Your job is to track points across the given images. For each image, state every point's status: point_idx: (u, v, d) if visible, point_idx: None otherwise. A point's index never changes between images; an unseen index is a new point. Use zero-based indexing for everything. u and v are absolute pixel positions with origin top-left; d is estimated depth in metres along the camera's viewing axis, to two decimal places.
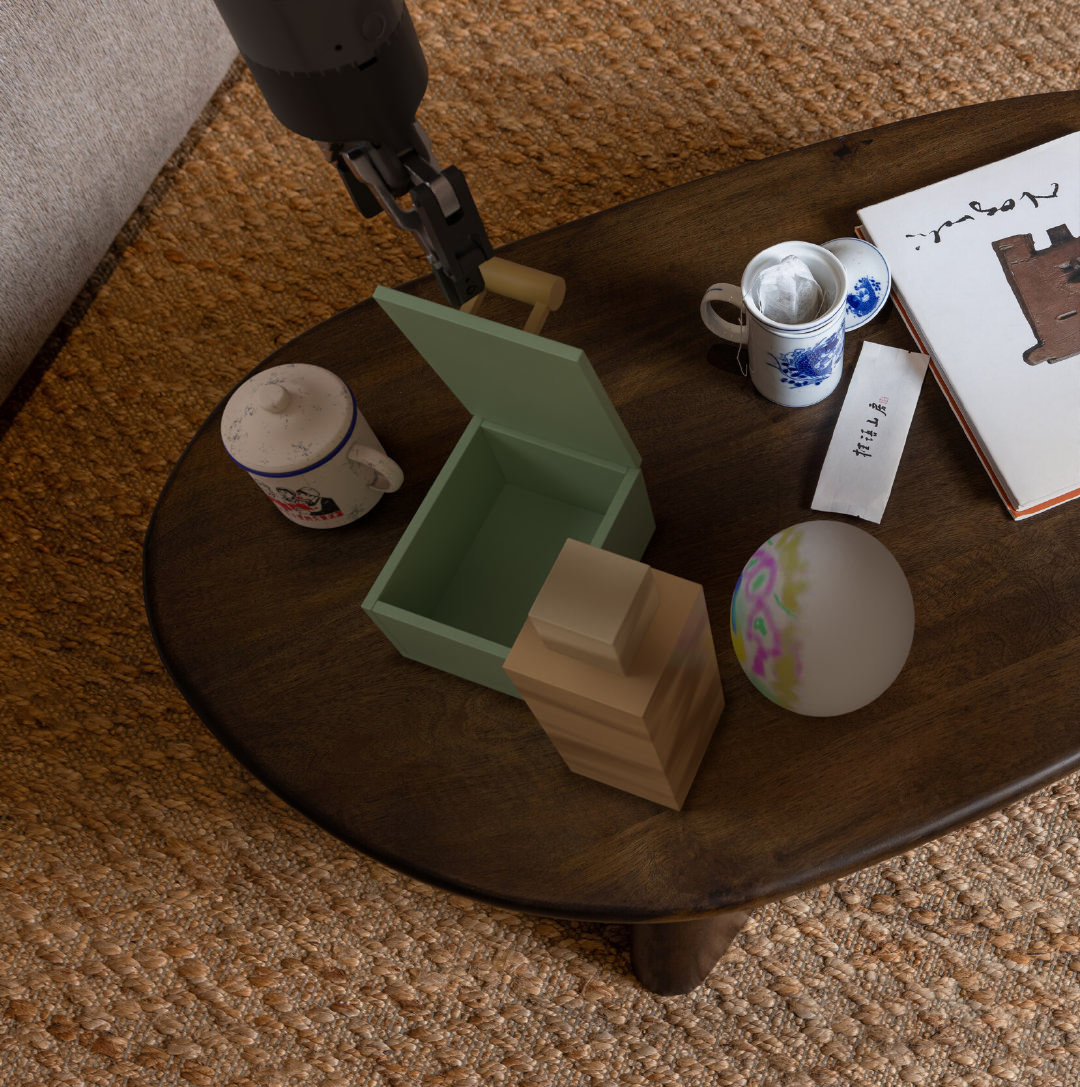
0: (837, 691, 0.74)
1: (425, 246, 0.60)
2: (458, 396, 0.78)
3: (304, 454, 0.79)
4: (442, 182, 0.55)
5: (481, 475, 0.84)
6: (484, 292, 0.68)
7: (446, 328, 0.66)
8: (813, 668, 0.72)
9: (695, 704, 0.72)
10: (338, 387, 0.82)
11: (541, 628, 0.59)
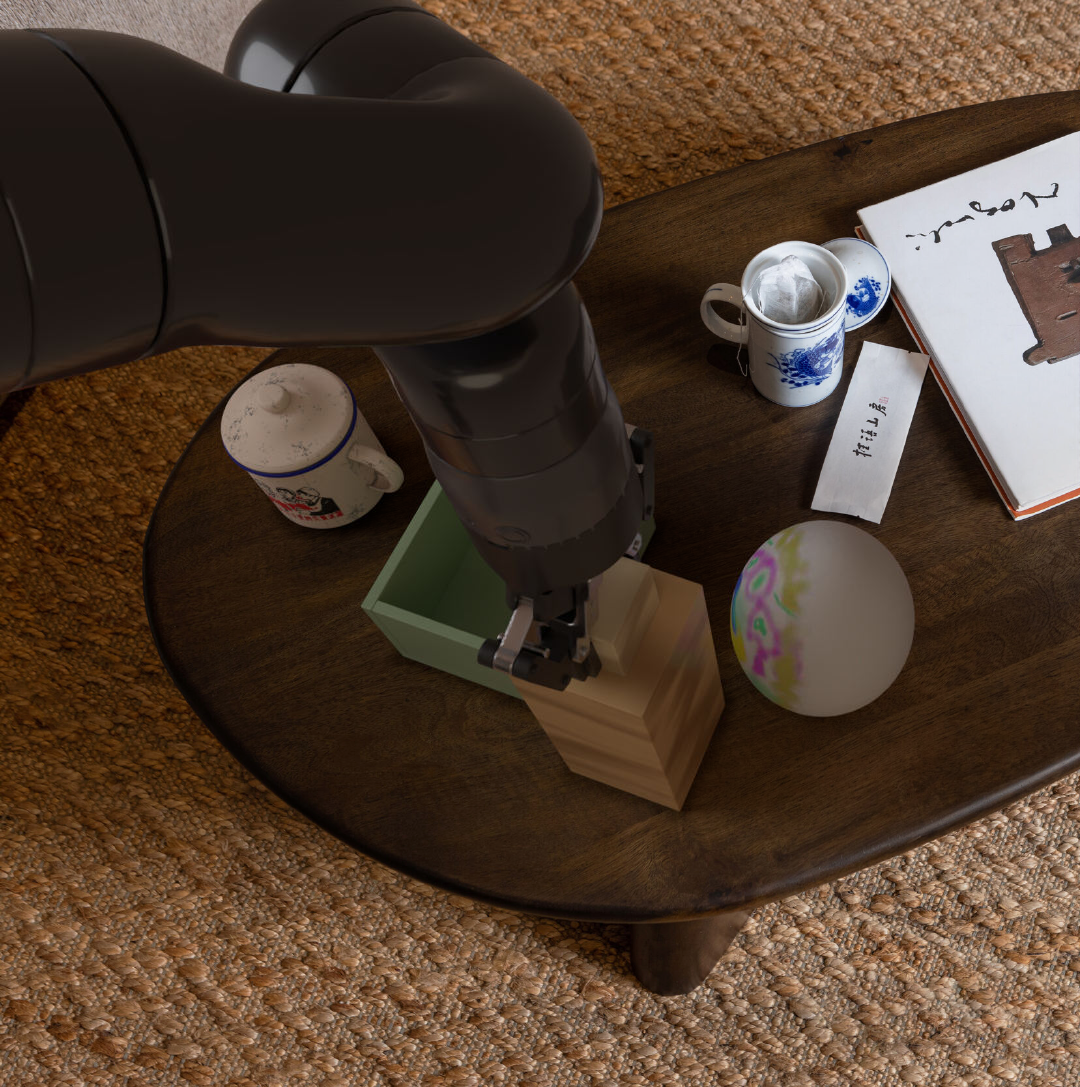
0: (837, 691, 0.74)
1: None
2: None
3: (304, 454, 0.79)
4: (505, 667, 0.51)
5: None
6: None
7: None
8: (813, 668, 0.72)
9: (695, 704, 0.72)
10: (338, 387, 0.82)
11: None
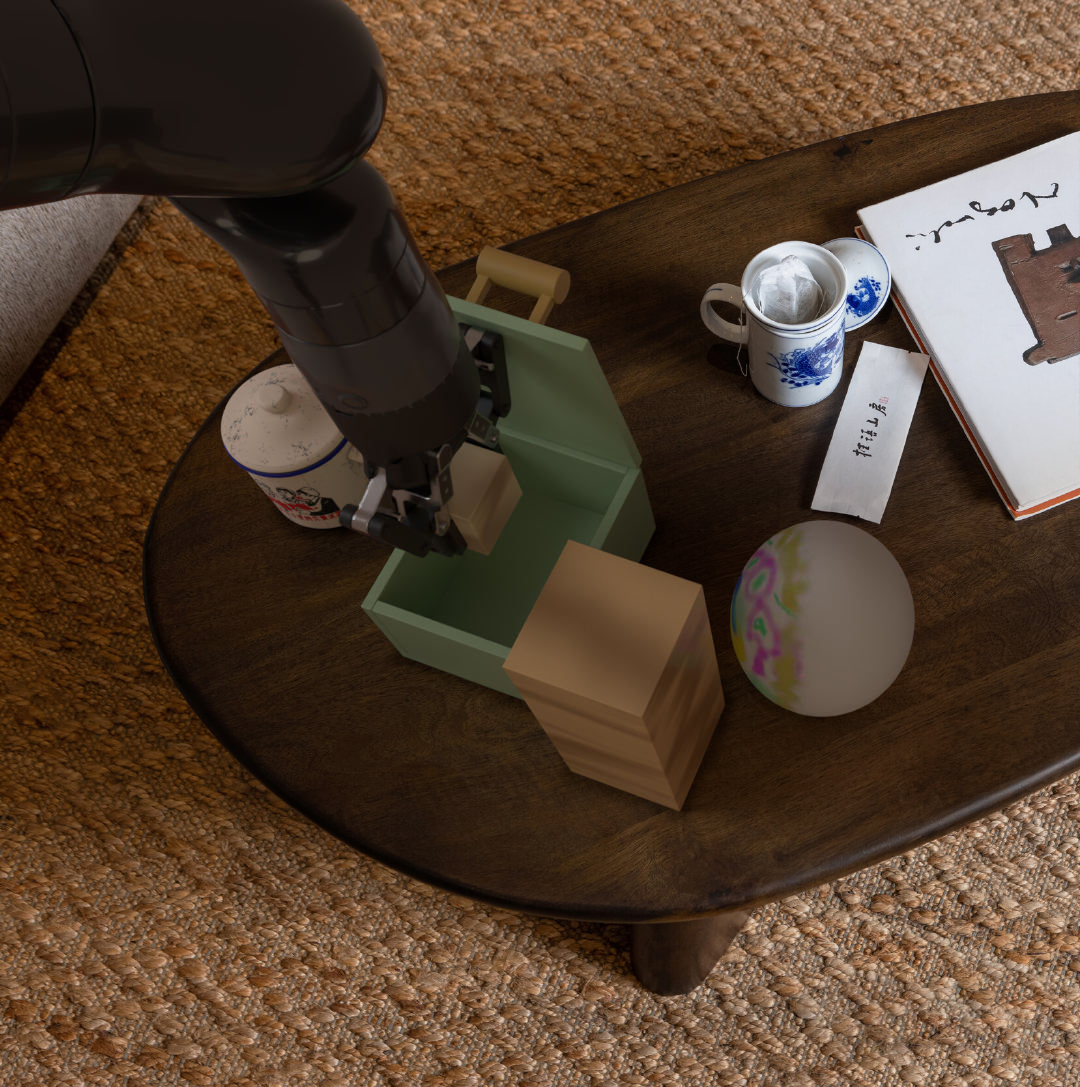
0: (837, 691, 0.74)
1: None
2: None
3: (304, 454, 0.79)
4: (362, 526, 0.60)
5: None
6: (489, 285, 0.68)
7: None
8: (813, 668, 0.72)
9: (695, 704, 0.72)
10: None
11: None
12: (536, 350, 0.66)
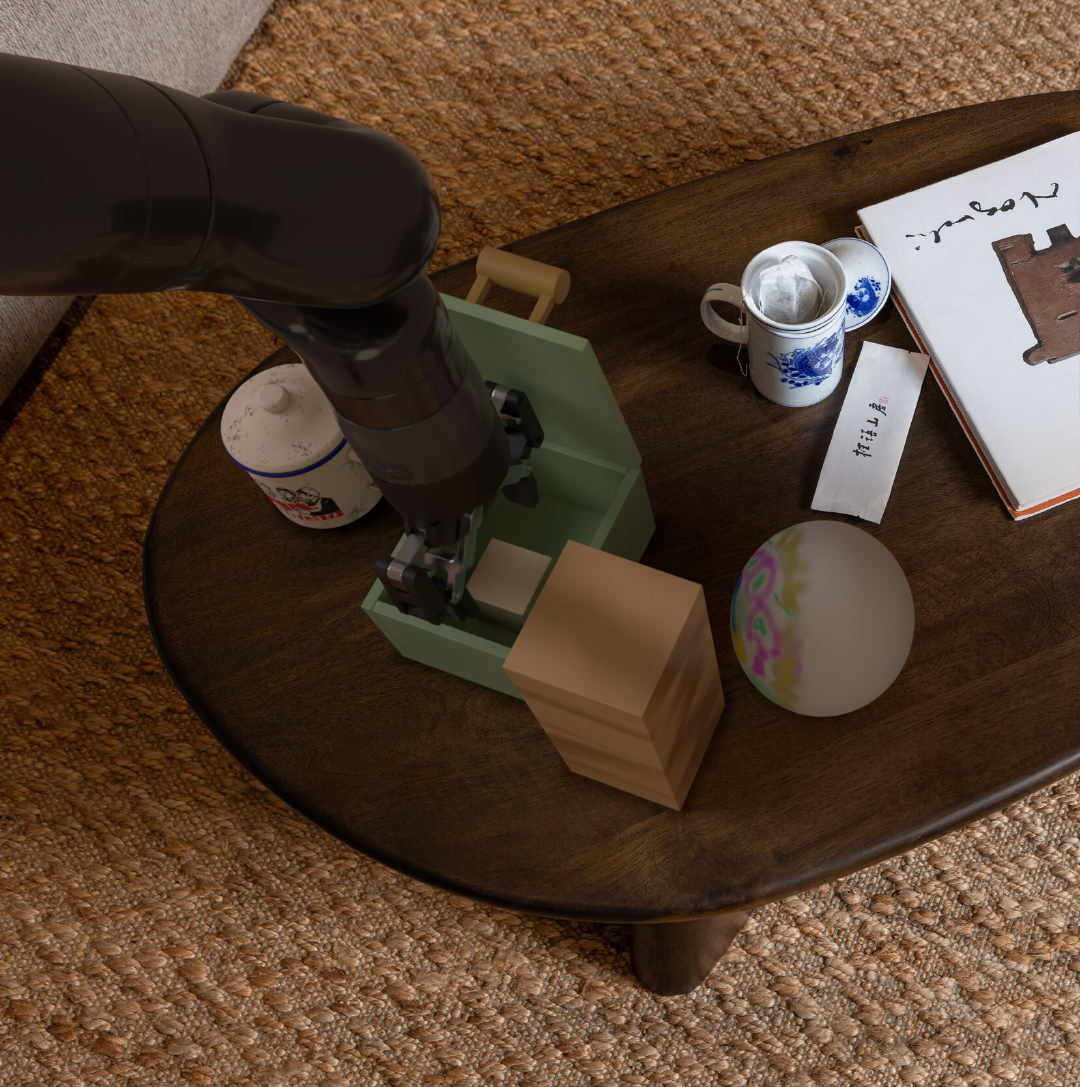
0: (837, 691, 0.74)
1: None
2: None
3: (304, 454, 0.79)
4: (397, 573, 0.65)
5: None
6: (489, 285, 0.68)
7: (451, 319, 0.66)
8: (813, 668, 0.72)
9: (695, 704, 0.72)
10: None
11: None
12: (536, 350, 0.66)
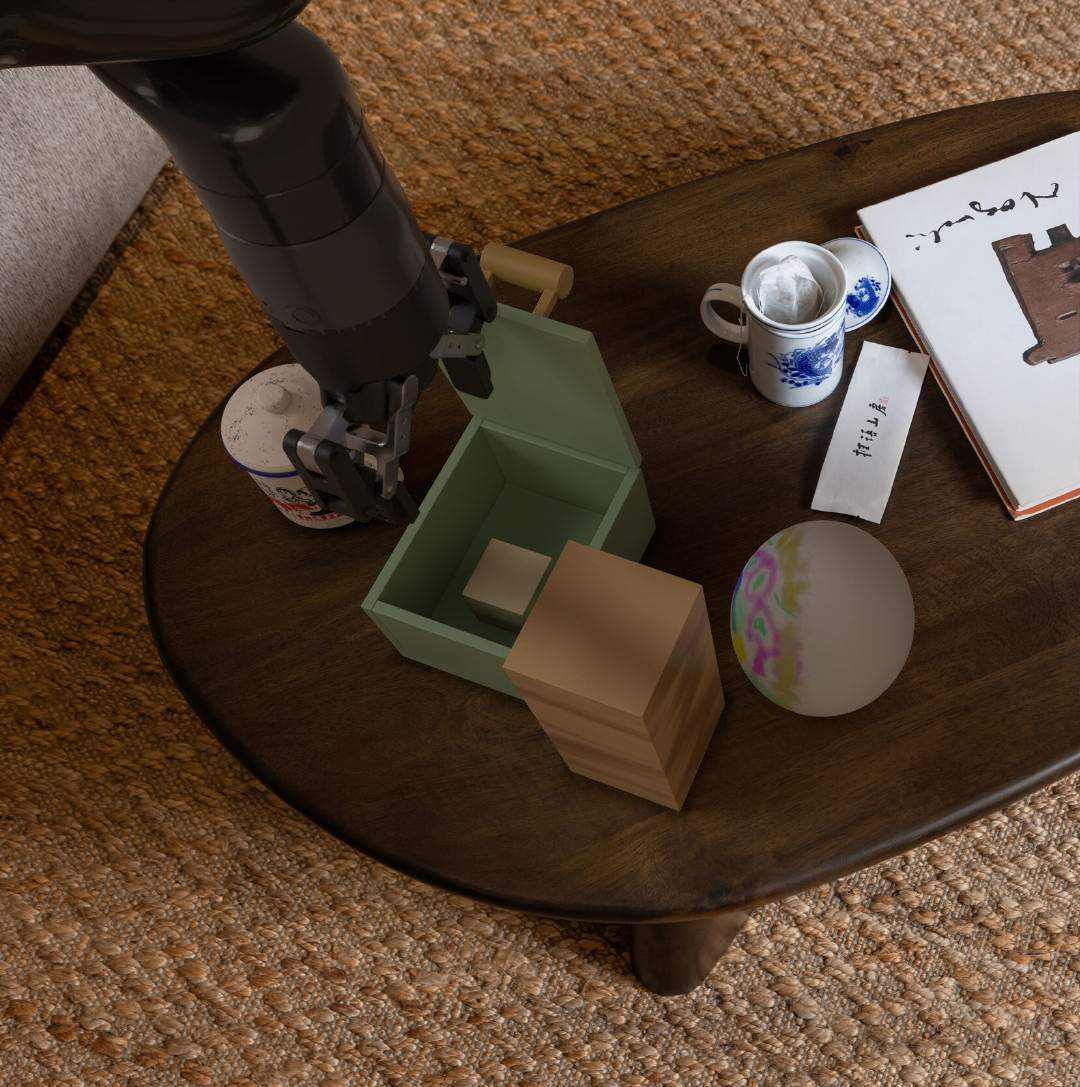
0: (837, 691, 0.74)
1: None
2: (459, 393, 0.78)
3: None
4: (309, 449, 0.53)
5: (481, 475, 0.84)
6: (492, 279, 0.68)
7: None
8: (813, 668, 0.72)
9: (695, 704, 0.72)
10: None
11: (472, 604, 0.80)
12: (539, 343, 0.66)
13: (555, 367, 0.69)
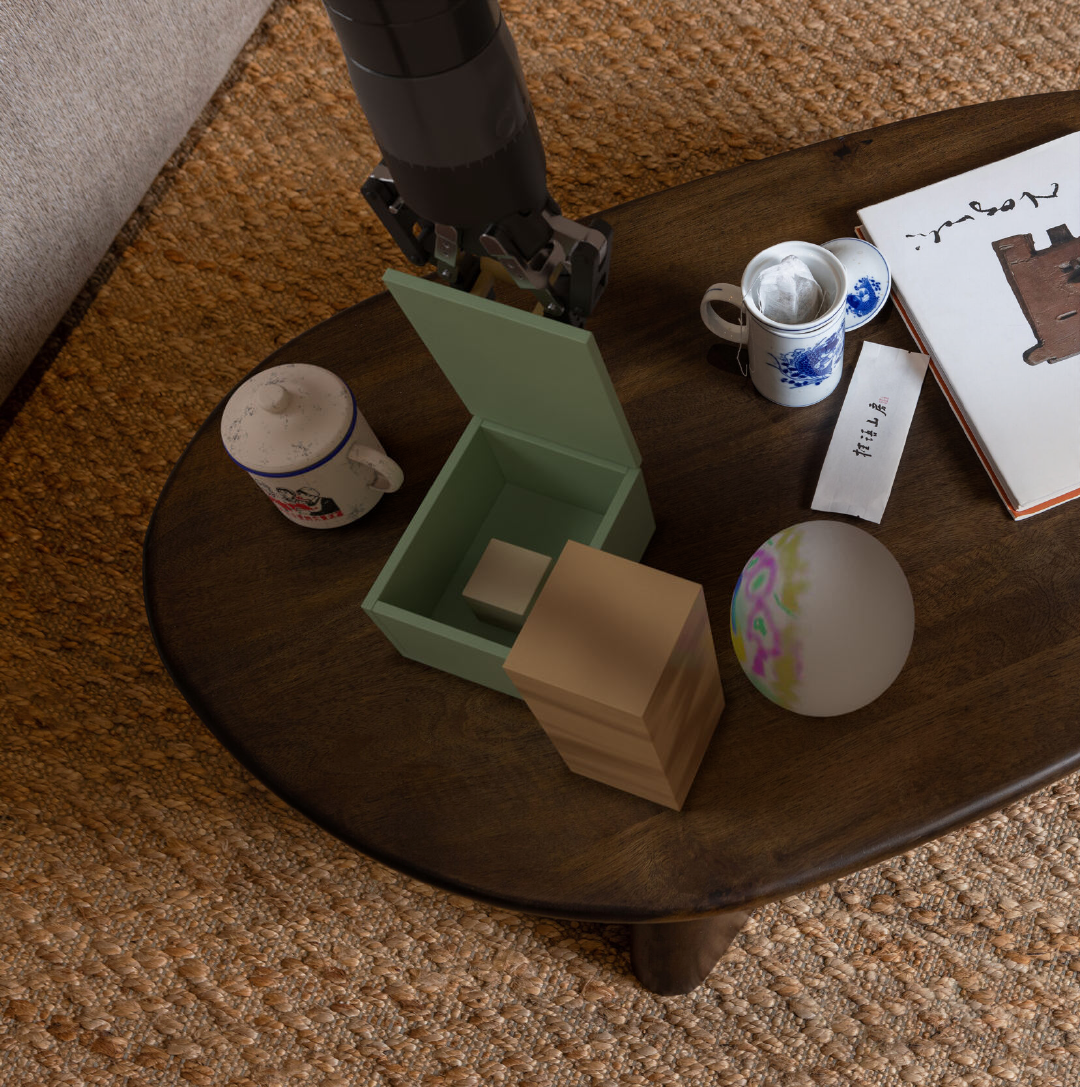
0: (837, 691, 0.74)
1: None
2: (459, 393, 0.78)
3: (304, 454, 0.79)
4: None
5: (481, 475, 0.84)
6: (492, 279, 0.68)
7: (454, 312, 0.67)
8: (813, 668, 0.72)
9: (695, 704, 0.72)
10: (338, 387, 0.82)
11: (472, 604, 0.80)
12: (539, 343, 0.66)
13: (555, 367, 0.69)
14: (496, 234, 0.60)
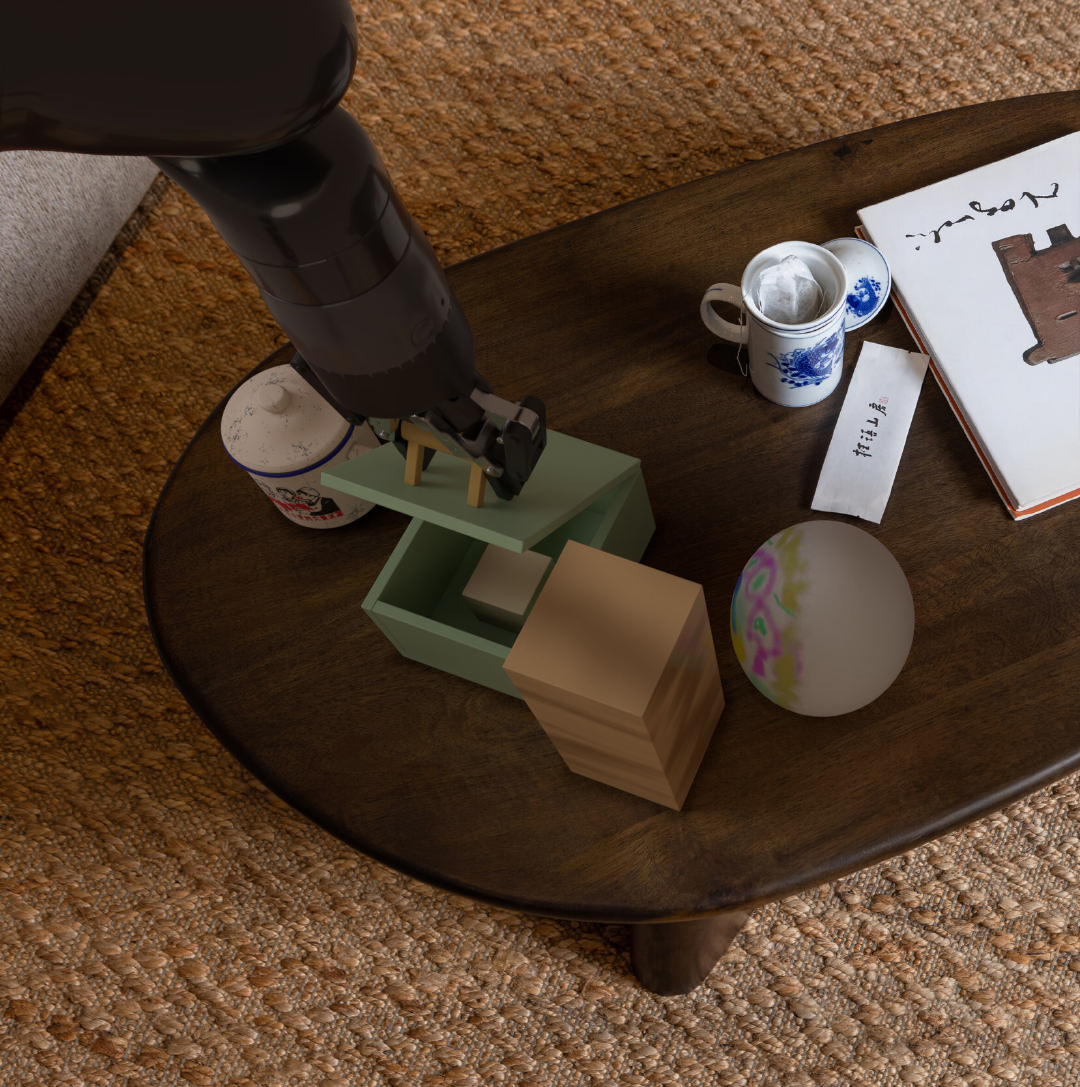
0: (837, 691, 0.74)
1: None
2: None
3: (304, 454, 0.79)
4: None
5: None
6: (422, 446, 0.67)
7: None
8: (813, 668, 0.72)
9: (695, 704, 0.72)
10: None
11: (472, 604, 0.80)
12: None
13: None
14: (426, 414, 0.59)
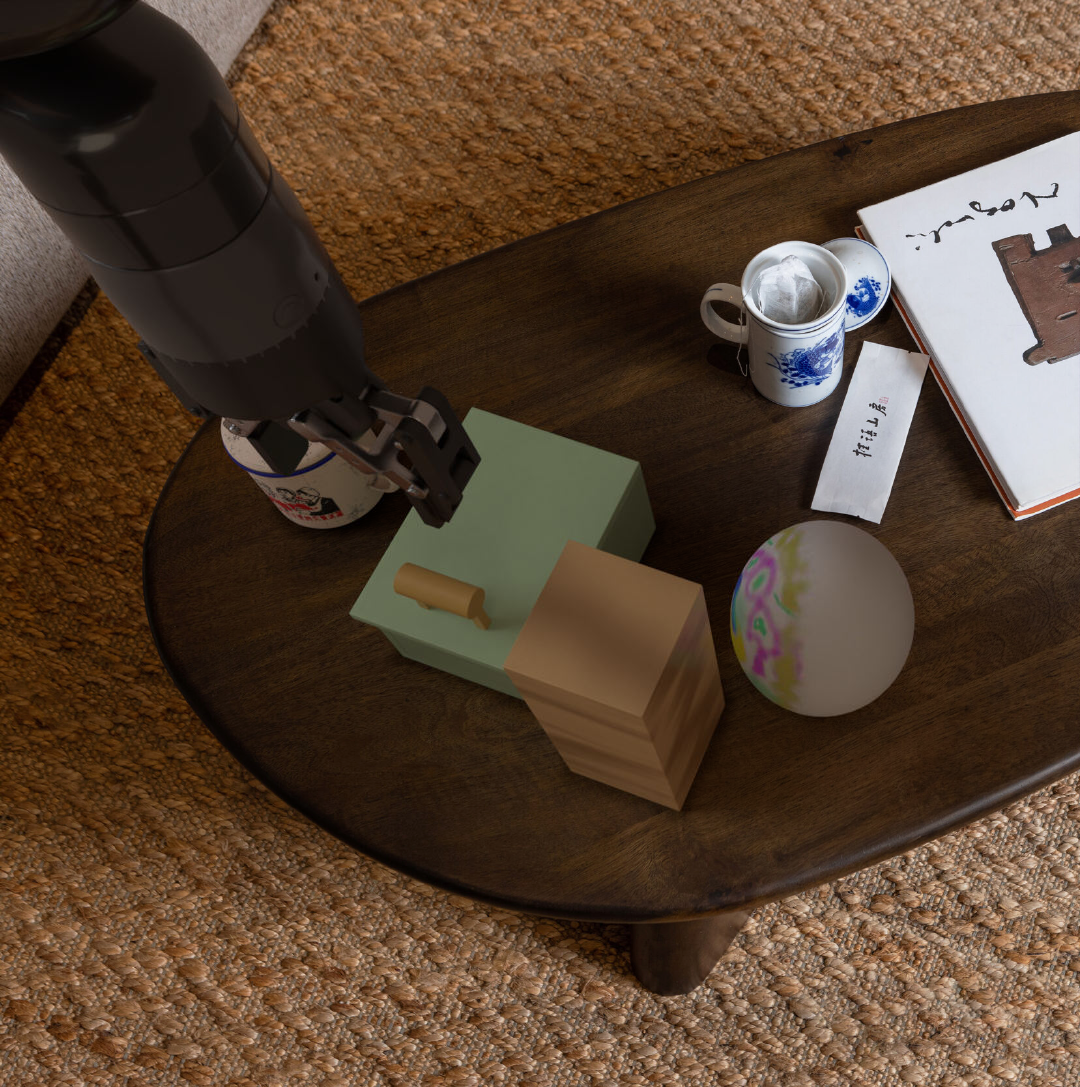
0: (837, 691, 0.74)
1: None
2: None
3: None
4: None
5: None
6: None
7: None
8: (813, 668, 0.72)
9: (695, 704, 0.72)
10: None
11: None
12: None
13: None
14: (302, 417, 0.50)
